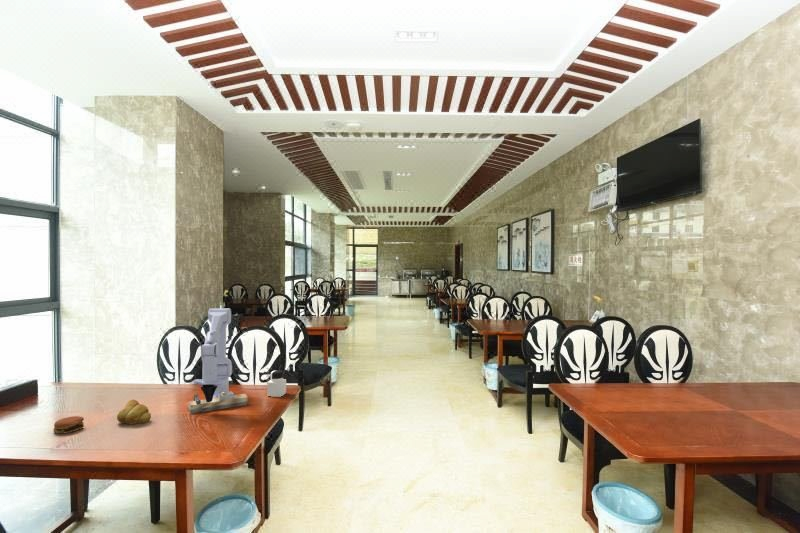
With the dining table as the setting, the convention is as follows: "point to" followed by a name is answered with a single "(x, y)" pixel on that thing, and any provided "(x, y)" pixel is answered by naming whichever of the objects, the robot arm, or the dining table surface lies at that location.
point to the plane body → (217, 404)
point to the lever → (197, 399)
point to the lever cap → (225, 395)
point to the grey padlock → (276, 384)
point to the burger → (68, 424)
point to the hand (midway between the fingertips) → (209, 401)
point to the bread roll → (133, 413)
